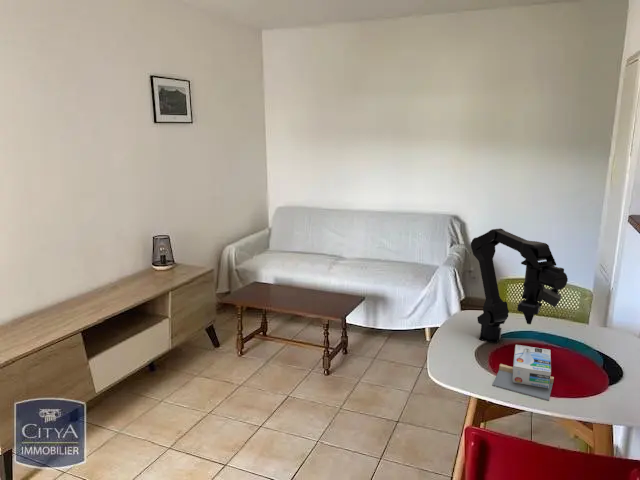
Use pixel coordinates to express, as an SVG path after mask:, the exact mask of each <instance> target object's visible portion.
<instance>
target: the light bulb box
mask: <svg viewBox="0 0 640 480" xmlns="http://www.w3.org/2000/svg"><path fill="white" fill-rule="evenodd" d="M551 355H552V354H551V349H549V348H548V349H547V348H539V347H533V346H528V345H523V344H522V345H521V344H515V346H514V355H513V363H512V365H513V366H512V367H513V383H520V384H526V385H532V386H537V387H543V388H549V382H550V376H551V375H552V358H551Z"/></svg>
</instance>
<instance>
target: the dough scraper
mask: <svg viewBox="0 0 640 480" xmlns="http://www.w3.org/2000/svg"><path fill="white" fill-rule="evenodd" d="M498 367H499V368H498V372H497V373H496V376H495V378H494V379H493V382H492V385H491V386H492V387H495V386H496V387H495V388H499V389H502V390H507V391H511V392H515V393H517V394H522V395H525V396H529V397H532V398H536V399H540V400H544V401H550V397H551V394H552V389H553V384H554V379H555V377H554V376H551V375H550V382H549V388H543V387H537V386H532V385H526V384H520V383H513V366H510V365H507V364H503V363H500V364H499V366H498Z"/></svg>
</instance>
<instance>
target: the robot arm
mask: <svg viewBox="0 0 640 480" xmlns="http://www.w3.org/2000/svg"><path fill="white" fill-rule="evenodd" d="M499 244H501V245H504V246H506V247H509V248H510V249H512V250H514V251H517V252H518V253H519V254H520V257H522V258H524V259H523V261H521V262H520V264H521V265H523V266H525V273H524V274H525V275H524V282H523V284H522V288H523V291H522V292H523V293H522V295H521V299H522V300H520V301H519V302H518V303H517V310H516V311H517V312H520V313H521V312H522V314H523V316H524V319H525V322H526V324H527V325H531V324H532V322H533V319H534V317H535V315H539V313H540V310H541V308H542V305H543V303H542V301H543V302H545V303H547V304H548V305H550V306H551V307H554V308H556V307H557V306H558V304H559V302H560V301H561V299H562V295H561V293H559V291H560V290H563V289H564V288H565V287H566V285H567V284H568V280H569V278H568V275H567V273H566V272H565V268H564V267H558V266H557V262H556V261H555V260H556V259H555V257H554V256H553V253H552V251H551V249H550V246H549V244H547V243H546V242H541V241H537V240H536V241H535V240H527V239H525V238H522V237H521V236H518V235H515V234H513V233H511V232H508V231H506V230H505V229H503V228H493V229H490V230H489V231H487V232H485V233H483V234H481V235H479V236H477V237H474V238H473V239H472V240H471V241H470V248H471V252H472V255H473V256H474V257H475V259H477V261H478V264H479V269H480V270H479V271H480V275H481V279H482V280H481V281H482V285H483V291H484V296H485V297H484V298H485V301H484V304H483V306H482V310H483V313H481V314H480V315H479V316H477V323H478V324H480V336H479V337H478V339H479V340H480V341H485V342H489V343H494V344H497V343H498V342H499V341H500V340H501V336H502V327H501V325H504V324H505V322H506V320H507V319H508V318H509V313H510V310H509V307H508V302H507V301H503V300H502V298H501V297H500V291H499V287H498V281H497V280H498V279H497V275H496V270H495V266H494V265H495V264H494V257H495V254H496V246H498V245H499ZM545 286H547V287H549V288H546V287H545Z"/></svg>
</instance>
